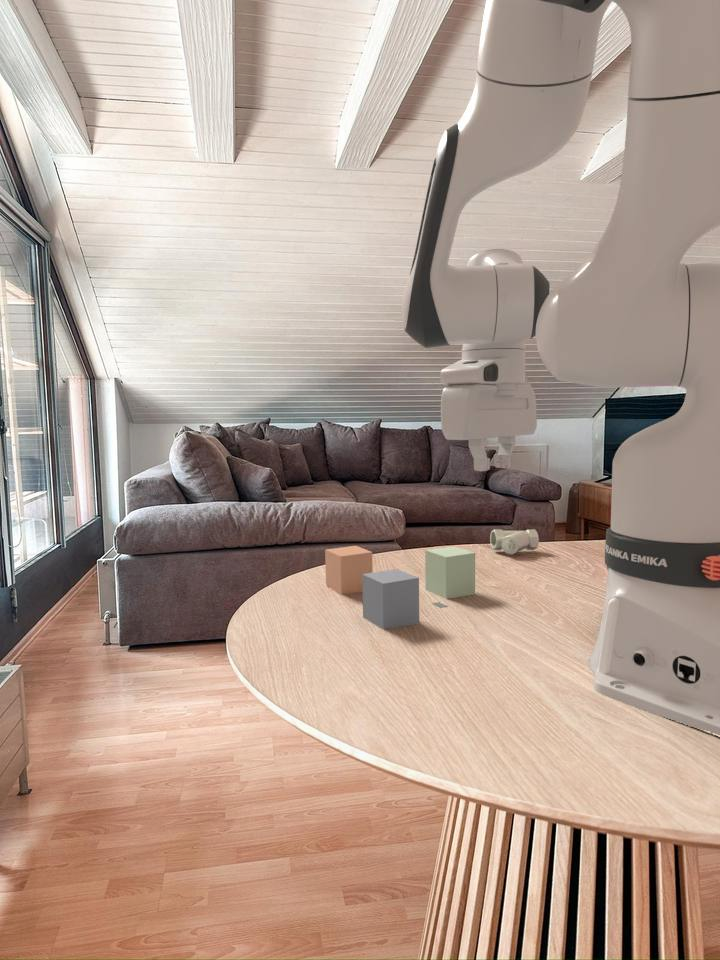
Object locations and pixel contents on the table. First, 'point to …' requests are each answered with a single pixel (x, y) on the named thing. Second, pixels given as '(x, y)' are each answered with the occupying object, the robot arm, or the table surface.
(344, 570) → the terracotta block
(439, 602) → the small gray-green block
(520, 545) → the pipe fitting
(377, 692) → the table surface
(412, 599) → the slate block
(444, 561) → the sage block
